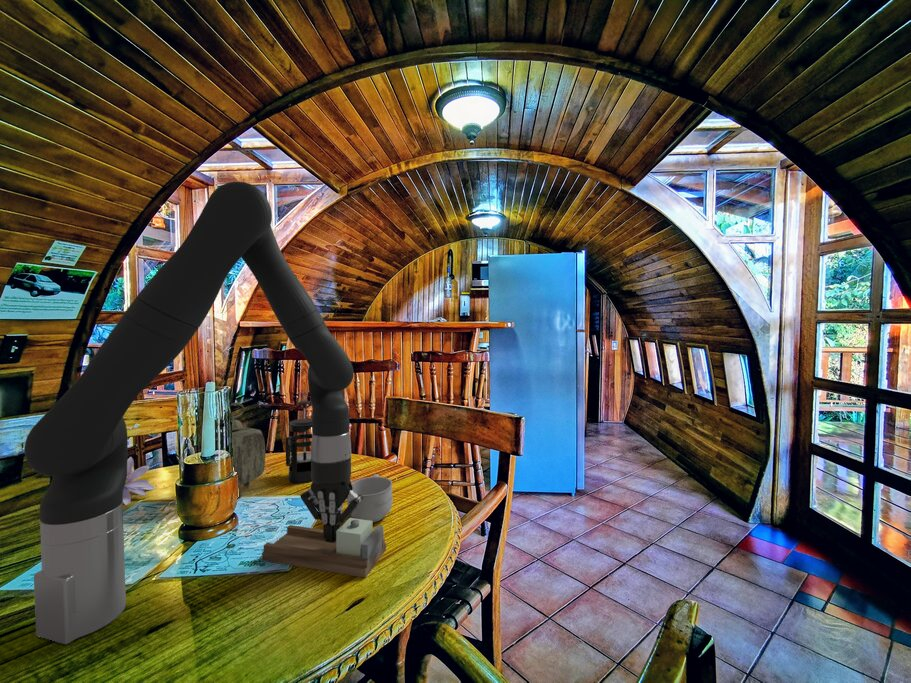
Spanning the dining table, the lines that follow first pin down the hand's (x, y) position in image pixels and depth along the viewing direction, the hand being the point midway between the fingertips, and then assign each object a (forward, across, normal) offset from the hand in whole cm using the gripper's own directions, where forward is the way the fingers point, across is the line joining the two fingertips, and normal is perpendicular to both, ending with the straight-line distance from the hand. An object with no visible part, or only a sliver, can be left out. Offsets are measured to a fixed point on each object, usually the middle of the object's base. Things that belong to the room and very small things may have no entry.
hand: (332, 540), depth 78 cm
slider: (+1, +5, 0) cm, 5 cm away
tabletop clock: (+3, -40, +18) cm, 44 cm away
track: (+3, -1, 0) cm, 3 cm away
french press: (+3, -30, +34) cm, 45 cm away
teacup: (+3, 0, +18) cm, 18 cm away
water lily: (+3, -66, +11) cm, 67 cm away
